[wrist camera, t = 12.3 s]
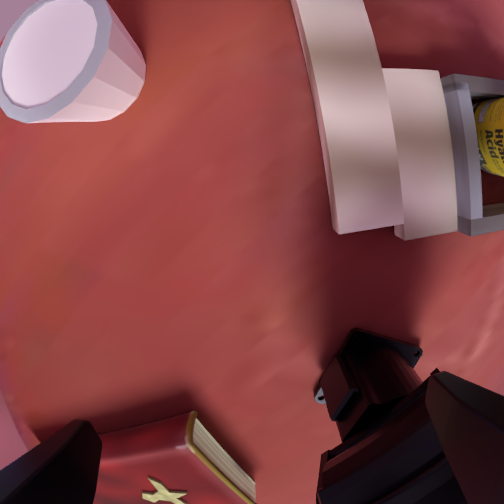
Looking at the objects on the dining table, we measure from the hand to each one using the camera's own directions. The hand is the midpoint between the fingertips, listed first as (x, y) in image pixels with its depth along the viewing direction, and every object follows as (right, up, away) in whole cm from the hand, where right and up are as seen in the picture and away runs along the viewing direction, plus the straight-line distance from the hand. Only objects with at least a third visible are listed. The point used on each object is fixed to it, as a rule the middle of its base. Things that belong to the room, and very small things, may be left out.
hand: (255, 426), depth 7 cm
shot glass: (-9, +15, +10) cm, 20 cm away
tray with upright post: (+12, +15, +9) cm, 21 cm away
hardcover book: (-11, -17, +19) cm, 28 cm away
